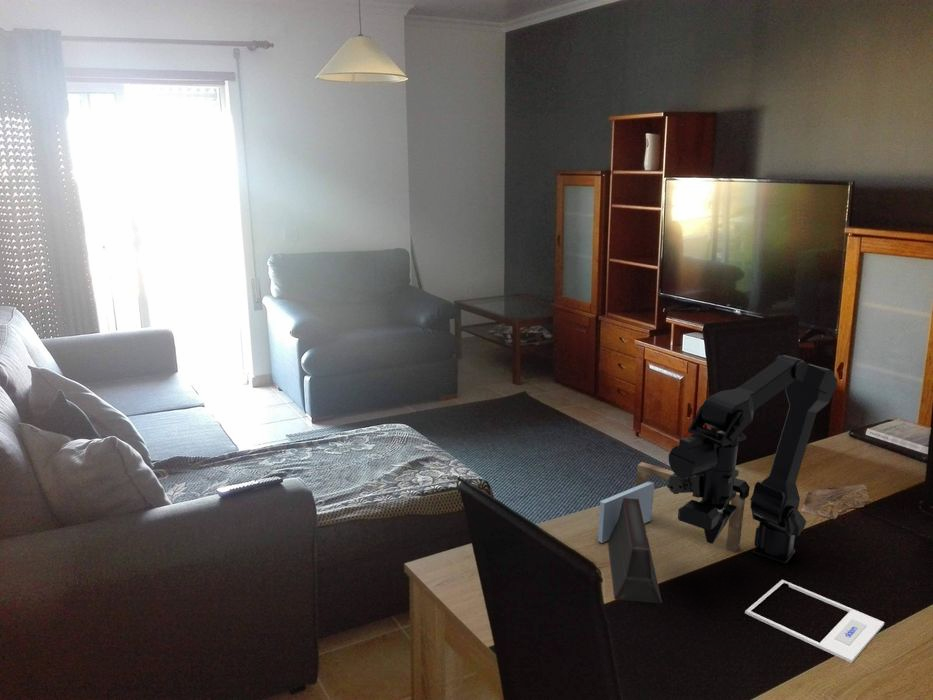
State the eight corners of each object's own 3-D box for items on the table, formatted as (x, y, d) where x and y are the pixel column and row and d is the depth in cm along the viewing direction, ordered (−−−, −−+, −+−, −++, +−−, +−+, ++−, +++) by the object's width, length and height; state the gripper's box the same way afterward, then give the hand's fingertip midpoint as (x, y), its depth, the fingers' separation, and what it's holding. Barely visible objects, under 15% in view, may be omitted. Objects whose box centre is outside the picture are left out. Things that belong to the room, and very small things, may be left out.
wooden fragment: (824, 524, 165) (825, 520, 164) (781, 504, 174) (781, 500, 173) (890, 497, 178) (891, 493, 177) (847, 480, 187) (848, 476, 186)
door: (641, 515, 167) (644, 478, 164) (651, 520, 165) (654, 482, 162) (592, 537, 157) (594, 498, 155) (602, 543, 155) (604, 503, 153)
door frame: (739, 548, 154) (745, 492, 151) (735, 552, 152) (742, 496, 149) (638, 513, 168) (641, 461, 165) (633, 516, 167) (637, 464, 164)
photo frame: (852, 659, 120) (745, 609, 132) (851, 665, 120) (744, 615, 133) (884, 621, 129) (782, 578, 142) (883, 626, 130) (781, 583, 142)
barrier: (662, 604, 135) (666, 555, 133) (613, 600, 136) (616, 551, 134) (648, 538, 158) (651, 495, 155) (606, 536, 159) (608, 492, 156)
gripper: (697, 439, 148) (690, 511, 152) (654, 468, 134) (647, 547, 138) (754, 454, 141) (745, 529, 145) (714, 487, 127) (705, 568, 131)
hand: (710, 542), depth 140 cm, fingers closed
